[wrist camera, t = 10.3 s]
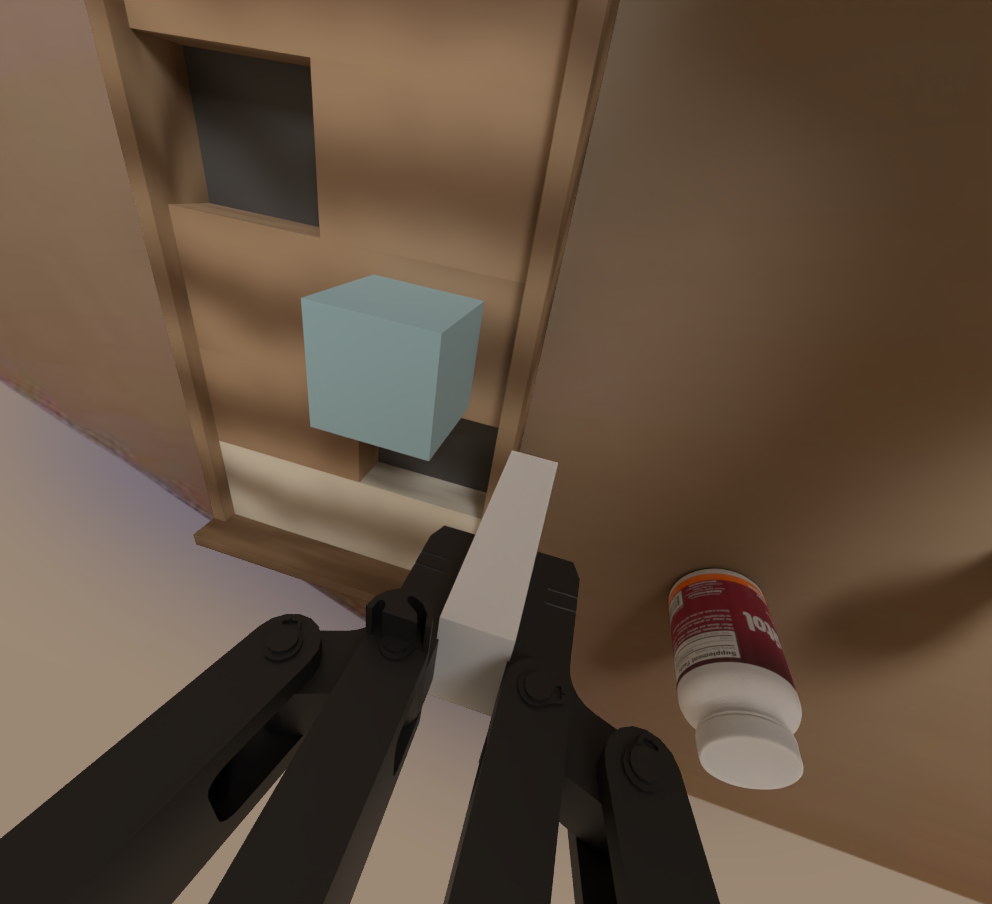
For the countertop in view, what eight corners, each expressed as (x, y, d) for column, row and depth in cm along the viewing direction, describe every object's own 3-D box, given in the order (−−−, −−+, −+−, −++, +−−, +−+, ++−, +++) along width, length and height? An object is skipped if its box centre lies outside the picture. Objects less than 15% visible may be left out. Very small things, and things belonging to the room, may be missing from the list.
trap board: (128, -177, 19) (-55, -312, 14) (648, -129, 16) (657, -277, 11) (252, 498, 38) (196, 544, 33) (492, 573, 36) (469, 636, 31)
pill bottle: (778, 616, 31) (843, 798, 21) (690, 634, 34) (713, 801, 24) (742, 553, 29) (795, 722, 20) (652, 578, 32) (662, 735, 23)
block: (373, 274, 23) (300, 297, 18) (484, 300, 22) (441, 333, 17) (372, 381, 26) (310, 426, 21) (468, 407, 25) (428, 461, 20)
